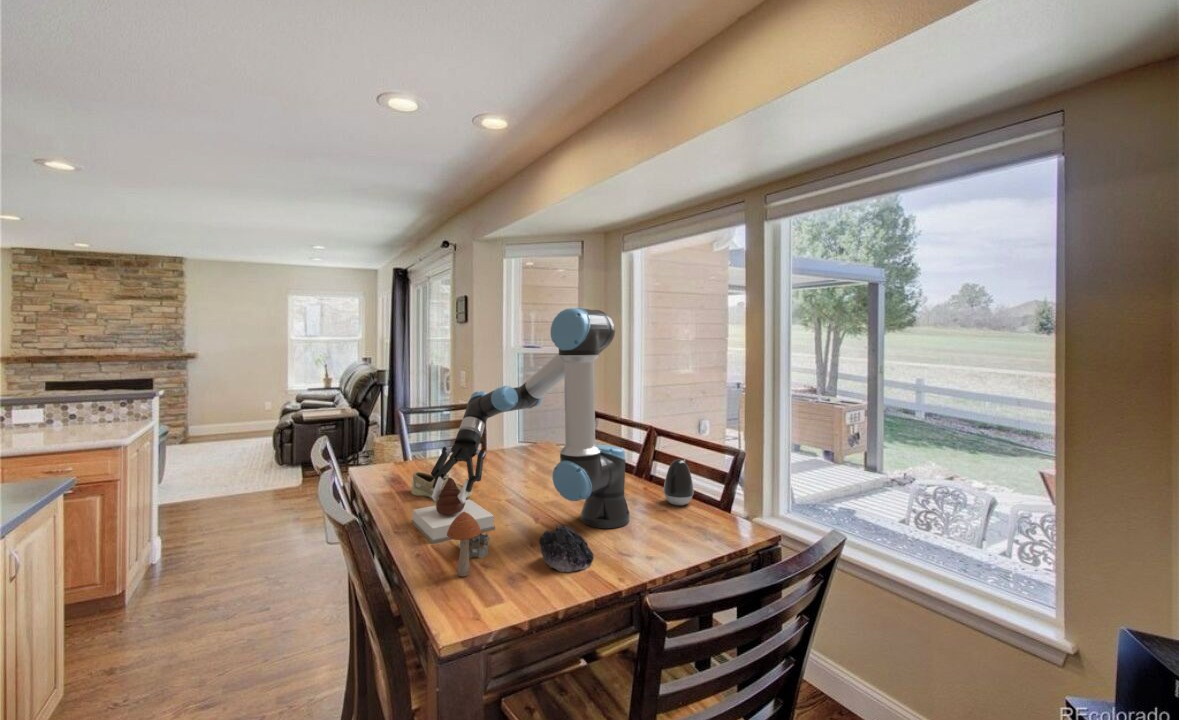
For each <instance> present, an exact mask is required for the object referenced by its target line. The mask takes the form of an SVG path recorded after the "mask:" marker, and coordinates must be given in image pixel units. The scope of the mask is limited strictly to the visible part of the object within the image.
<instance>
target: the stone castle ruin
mask: <svg viewBox="0 0 1179 720" xmlns="http://www.w3.org/2000/svg"><path fill="white" fill-rule="evenodd" d="M490 539H491V538H490V537H489V533H488V532H486V533H483V532H481V533H480V535H479V536H477V537H475V538H472V539H469V544H470V549H469V550H468V553H469V560H470V559H471V558H474V557H476V558H478V559H483V558H484V557H488V554H489V550H488V549H489V542H490ZM481 543H482V544H483V545H481ZM458 547H459V548H460V542H459V543H458Z"/></svg>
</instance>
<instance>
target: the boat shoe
mask: <svg viewBox="0 0 1179 720" xmlns="http://www.w3.org/2000/svg"><path fill="white" fill-rule="evenodd" d="M449 478H452V477H450V475H449V474H448V473H447V474H446V475H445V477H444V478H443V479H442V480H443V481H444V482H443V485H442V488H441V491H442V489H444V486H445V484H446V483H447V481H448V480H449ZM411 481H412V482H411V489H410V493H411V495H412V496H416V497H424V498H429V499H431V500H433V499H432V494H433V491H434V488H433V484H434V481H435V479H434V478H433V476H432V475H431V473H427V472H423V471H415V472H414V473H413V474H412V480H411ZM455 483H456V482H455ZM456 486H457V487H458V489H459V490H462V489H463V486H464V485H461V484H459V483H456ZM441 491H440V493H441ZM439 495H440V494H439ZM470 497H472V492H468V493H467V497H466V499H468V498H470ZM438 499H439V497H438ZM438 499H437V501H438Z"/></svg>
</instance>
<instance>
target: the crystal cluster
mask: <svg viewBox="0 0 1179 720" xmlns="http://www.w3.org/2000/svg"><path fill="white" fill-rule="evenodd" d="M538 542H539V545H540V553H541V556H542V557H543V561H544V562H545V564H547V565H548V566H549V568H550V569H555V570H557V571H558V572H564V573H571V572H575V571H582V570H587V569H589V567H591V565H592V563H593V561H594V559H595V558H594V553H593V551H592V550H591V548H590V547H589V545H588V542H587V541H585V538H584V537H582V535H580V534H579V533H578V532H577V531H575V530H574V529H572V528H571V527H569V526H567V525H564V526H563V525H560V526H559V525H557V526H556V529H554V531H551V530H549V529H547V530H545V531H544V533H542V535H541V536H540V538H539V540H538Z"/></svg>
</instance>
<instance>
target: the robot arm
mask: <svg viewBox="0 0 1179 720" xmlns="http://www.w3.org/2000/svg"><path fill="white" fill-rule="evenodd" d="M549 331H550V338H551V341H552V343H554V346H555V347H556V348H558V353H556V355H555V356H553V357H552V358H551V359H550V360H549V361H548V362H546V364H545V365H543V366H542V367H541V368H540V369H539V370H538V371H537V372H535V373H534V374H533V375H532V376H531V377H530V378H529V379H527V381H525V382H524V383H523V384H522V385H520V386H517V387H512V386H510V385H504V386H501V387H500V386H499V387H496V388H495V389H494V390H491V391H489V392H486V391H475V392H473V393H472V394H471V395H470V399H469V400H468V402H467V406H466V407H465V408H466V409H465V411H464V414H463V417H462V421H461V423H460V425H459V428H458V432H457V434H456V437H455V440H454V443H453V445H452V446H451V447H446V446H443V447H442V449H441V454H440V455H439V458H438V459H437V460H436V462H435V465H434V466H433V468H432V470H431V472H430V475H432V476H433V478H434V479H435V481H434V484H433V488H434V491H433V494H432V499H431V500H433V501H434V502H435V503H437V499H438V497H439V494H440V491H441V488H442V485H443V482H444V481H443V480H442V479H443V478H444V477H445V475H446V474H447V475H448V473H449V472H450V470H452V468H453V467H454V466H455V465H457V463H458V462H464V463H465V462H466V467H467V468H466V469H467V478H465V480H464V483H463V485H462V486H463V489H462V492H461V495H460V498H459V499H460V501H461V503H465V500H467V498H466V497H467V493H468V492H471V491H472V490H473V489H472V488H473V486H474V483H475V482H481V480H482V476H483V475H482V474H483V468H484V466H483V465H484V460H485V458H486V455H487V453H486V451H485V449H484V448H481V449H479V446H480V444H481V443H480V442H481V441H482V437H483V433H484V431H485V427H486V423H487V421H488V419H489V418H492V417H494V416H497V415H499V414H502V413H506V412H513V411H518V410H525V409H532V408H535V407H537V406H539V405H540V404H541V402H542V400H543V397H544V396H545V395H547V394H548V393H549V392H550V391H551V390H552V389H554V388H555V387H556V386H557V385H558V384H559V383H561V382H562V381H563V380H564V430H565V431H564V437H565V438H564V441H565V443H564V446H563V447H562V449H560V451H559V455H560V456H559V462H557V464H556V466H555V467H554V468H553V470H552V475H551V476H552V477H551V478H552V482H553V485H554V486H553V487H554V488H555V489H556V491H557V493H559V494H560V496H561V497H562V498H564V499H565V500H567V501H570V502H578V501H583V500H584V502H583V505H582V506H583V507H582V508H581V511H580V521H581V522H582V523H583V524H585V525H586V526H589V527H593V528H598V529H616V528H620V527H624V526H626V525H628V524H630V519H631V518H630V516H631V515H630V511H629V507H628V503H627V500H626V495H625V488H626V487H625V482H626V473H625V472H626V453H625V450H624V449H623V448H622V447H619V446H613V445H607V444H606V445H605V444H596V411H595V410H596V408H595V407H596V405H595V403H596V401H595V399H596V396H595V393H596V392H595V391H596V390H595V388H596V387H595V361H596V360H597V359H598V358H599V357H600V354H601V353H602V352H603V351H605V349H606V348H608V347H609V346H610V345H611V343H612V341H613V340H614V338H615V334H616V325H615V323H614V320H613V318H612V317H611V316H610V315H609V314H608V313H607V312H604V311H602V310H598V309H590V308H589V309H588V308H581V307H574V308H573V307H572V308H571V307H570V308H565V309H563V310H560V312H559V313H557V314H556V316H555V317H554V318H553V320H552V322H551V326H550V330H549ZM475 456H477V457H476V458H477V459H476V464H475V473H474V465H473V464H474V463H473V458H474V457H475ZM448 457H449V458H448ZM471 493H472V492H471Z"/></svg>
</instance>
